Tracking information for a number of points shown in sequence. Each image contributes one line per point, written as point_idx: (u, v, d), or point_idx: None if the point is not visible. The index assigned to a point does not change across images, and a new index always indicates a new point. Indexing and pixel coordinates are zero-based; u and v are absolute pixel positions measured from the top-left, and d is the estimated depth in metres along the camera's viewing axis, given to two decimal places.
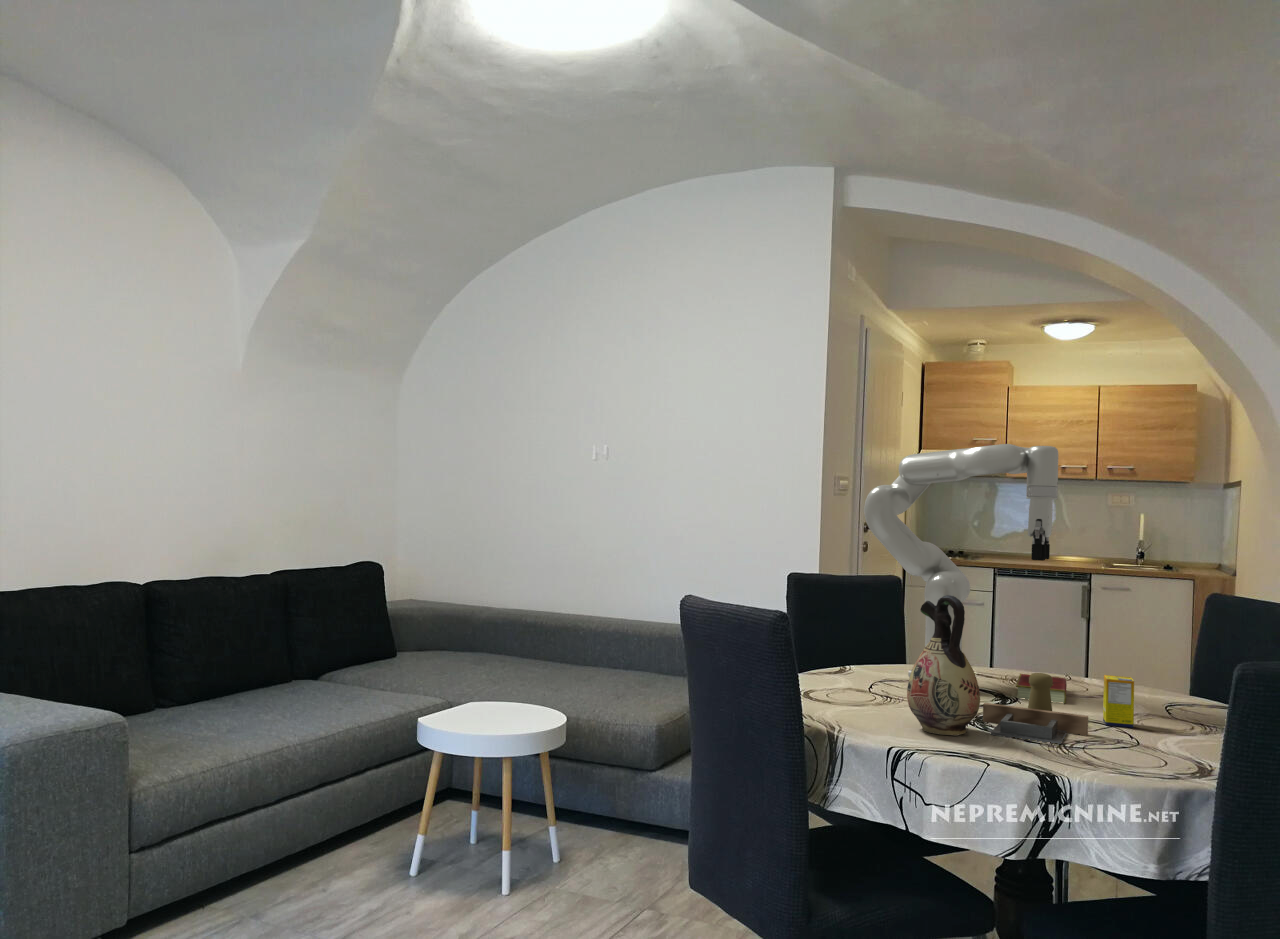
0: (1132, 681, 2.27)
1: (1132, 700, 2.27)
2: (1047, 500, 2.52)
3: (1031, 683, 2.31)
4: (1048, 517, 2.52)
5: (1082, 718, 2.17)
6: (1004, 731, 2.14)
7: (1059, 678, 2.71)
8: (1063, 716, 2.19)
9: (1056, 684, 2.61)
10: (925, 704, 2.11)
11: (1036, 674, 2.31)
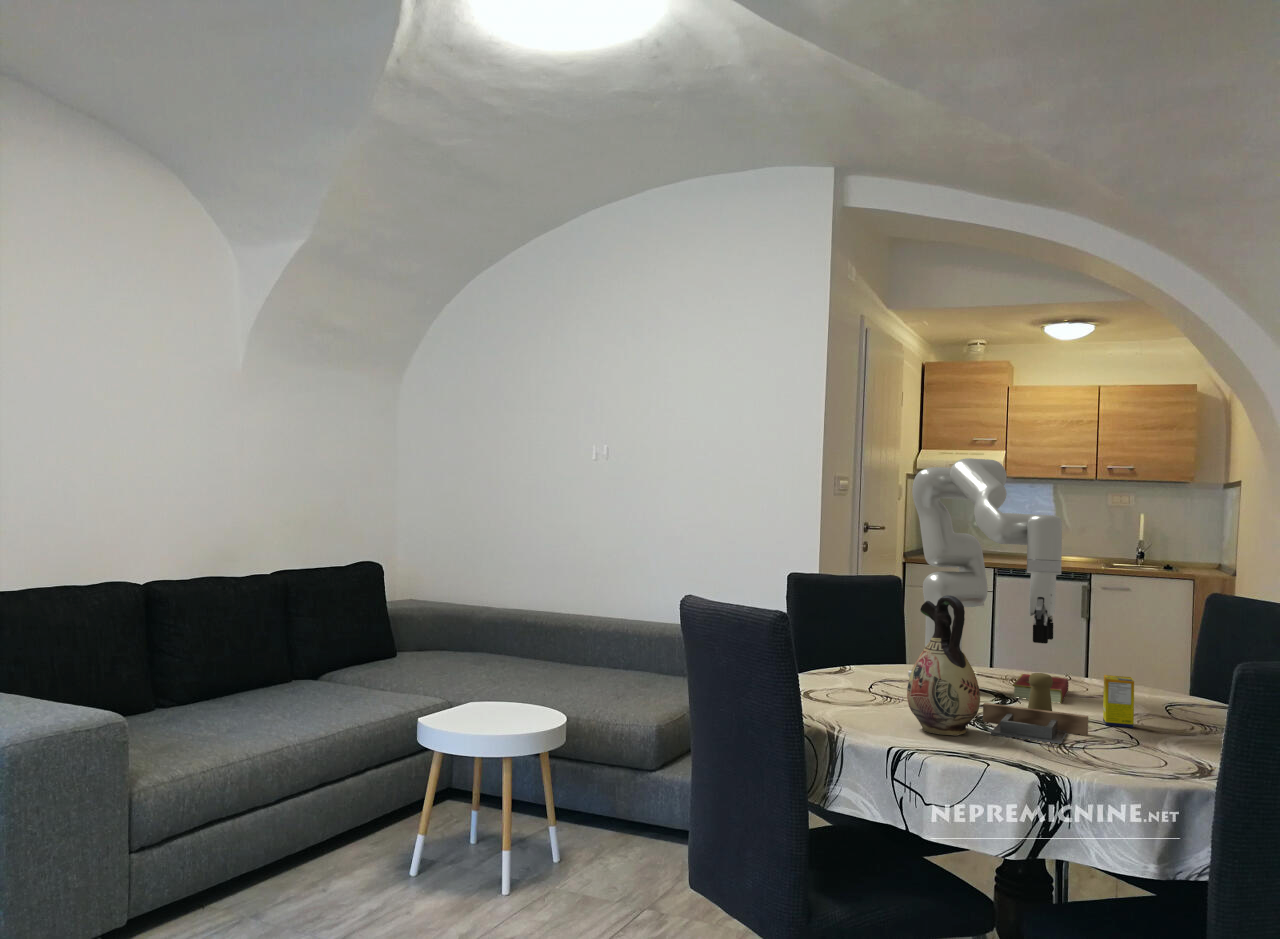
0: (1132, 681, 2.27)
1: (1132, 700, 2.27)
2: (1050, 576, 2.28)
3: (1031, 683, 2.31)
4: (1051, 595, 2.27)
5: (1082, 718, 2.17)
6: (1004, 731, 2.14)
7: (1061, 678, 2.70)
8: (1063, 716, 2.19)
9: (1055, 684, 2.61)
10: (925, 704, 2.11)
11: (1036, 674, 2.31)
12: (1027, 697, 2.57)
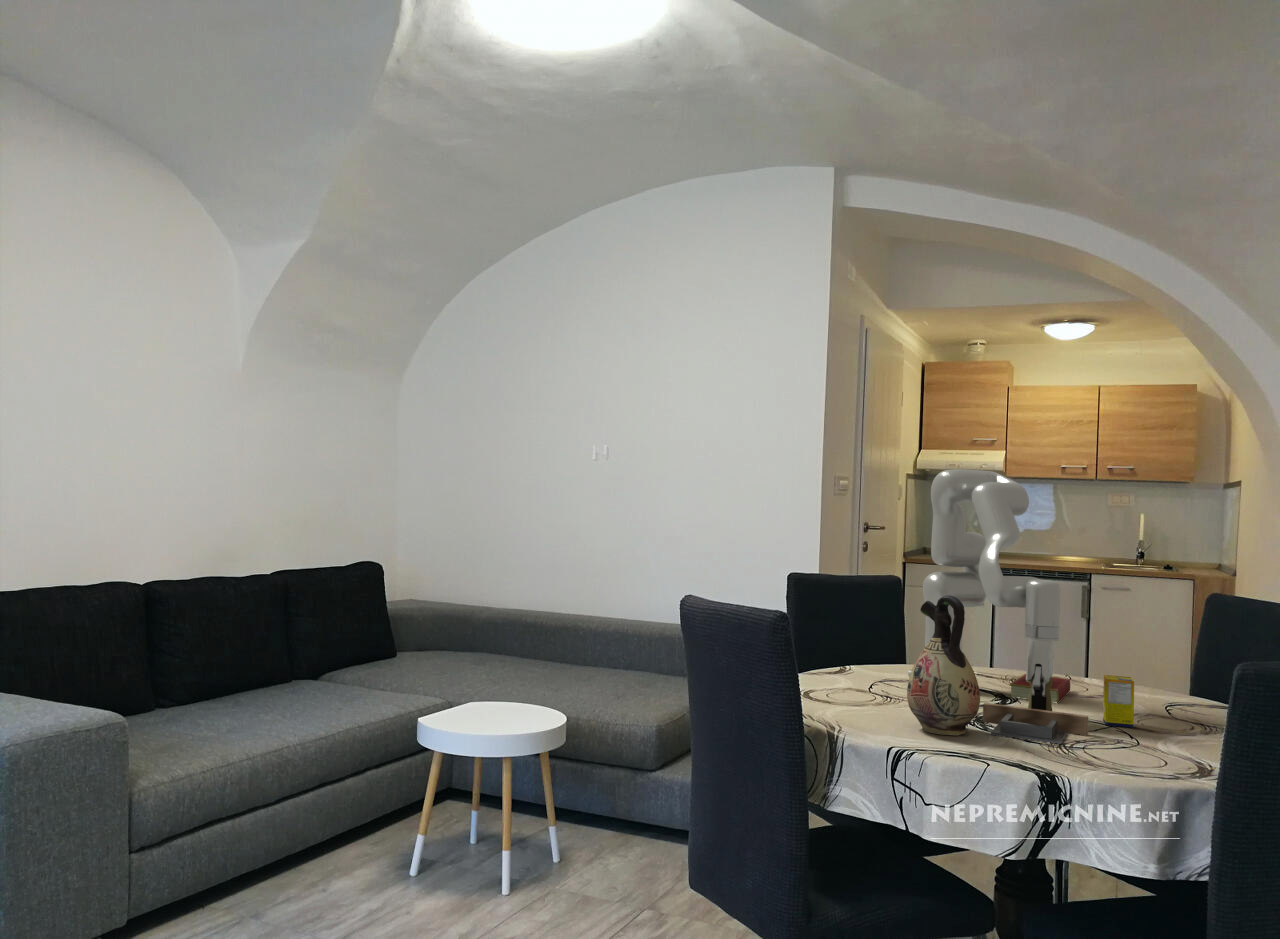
0: (1132, 681, 2.27)
1: (1132, 700, 2.27)
2: (1047, 643, 2.27)
3: (1031, 683, 2.31)
4: (1048, 662, 2.27)
5: (1082, 718, 2.17)
6: (1004, 731, 2.14)
7: (1062, 679, 2.70)
8: (1063, 716, 2.19)
9: (1053, 684, 2.61)
10: (925, 704, 2.11)
11: None
12: (1024, 696, 2.57)
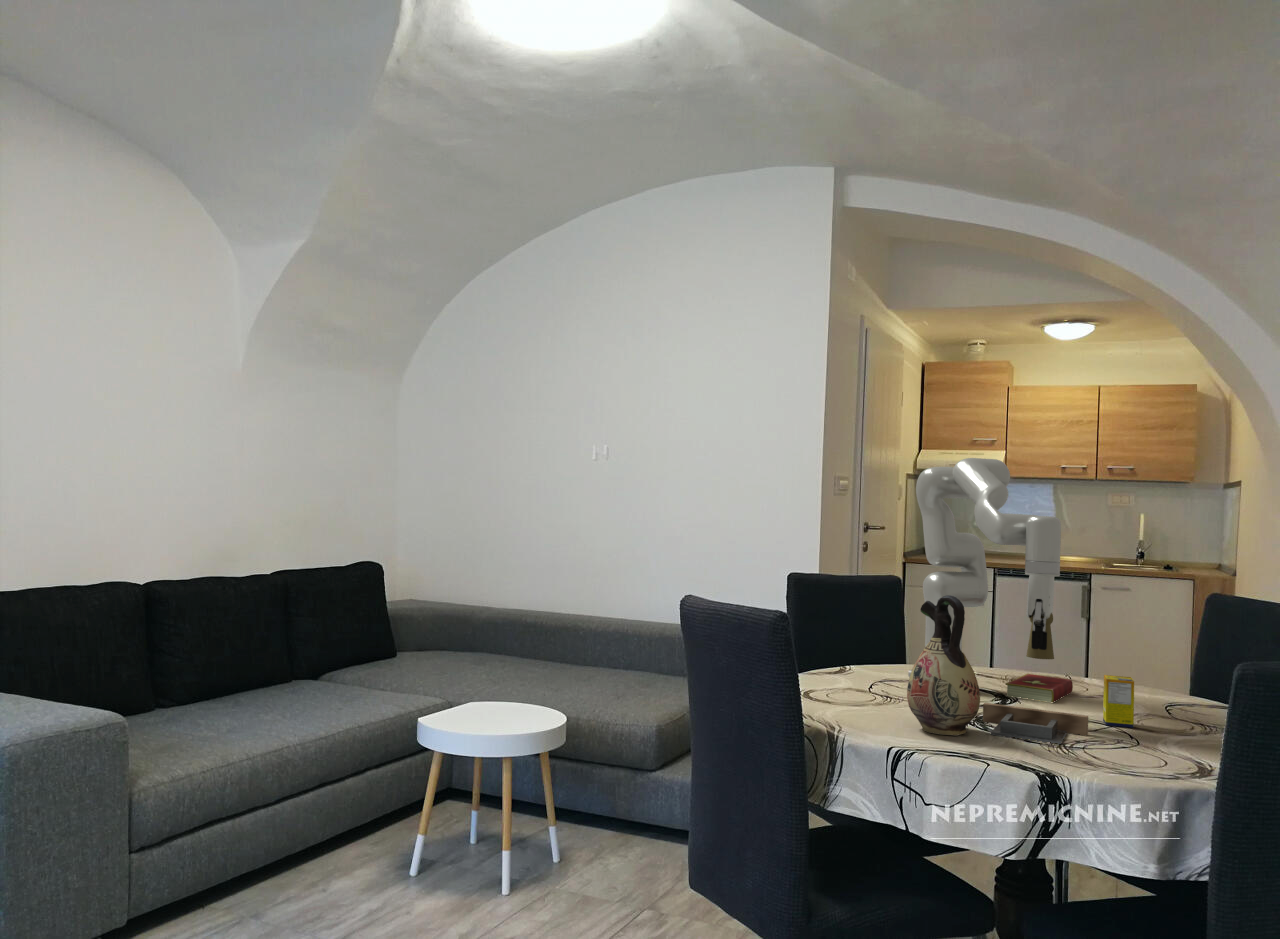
0: (1132, 681, 2.27)
1: (1132, 700, 2.27)
2: (1048, 578, 2.26)
3: (1032, 619, 2.29)
4: (1049, 597, 2.25)
5: (1082, 718, 2.17)
6: (1004, 731, 2.14)
7: (1064, 679, 2.69)
8: (1063, 716, 2.19)
9: (1051, 684, 2.61)
10: (925, 704, 2.11)
11: None
12: (1019, 696, 2.58)
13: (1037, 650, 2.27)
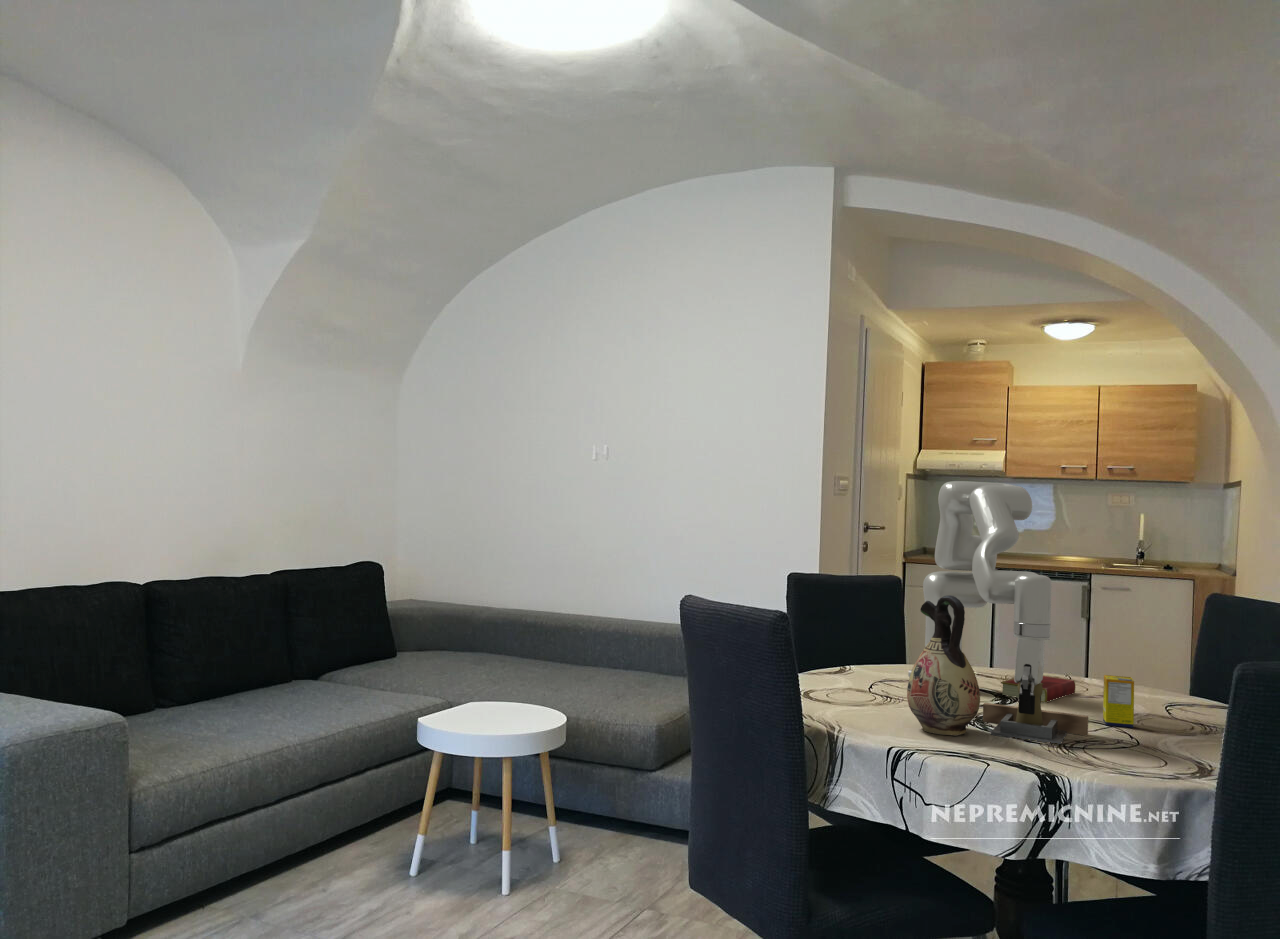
0: (1132, 681, 2.27)
1: (1132, 700, 2.27)
2: (1037, 642, 2.13)
3: None
4: (1038, 662, 2.12)
5: (1082, 718, 2.17)
6: (1004, 731, 2.14)
7: (1066, 680, 2.69)
8: (1063, 716, 2.19)
9: (1049, 684, 2.61)
10: (925, 704, 2.11)
11: None
12: (1014, 695, 2.59)
13: None
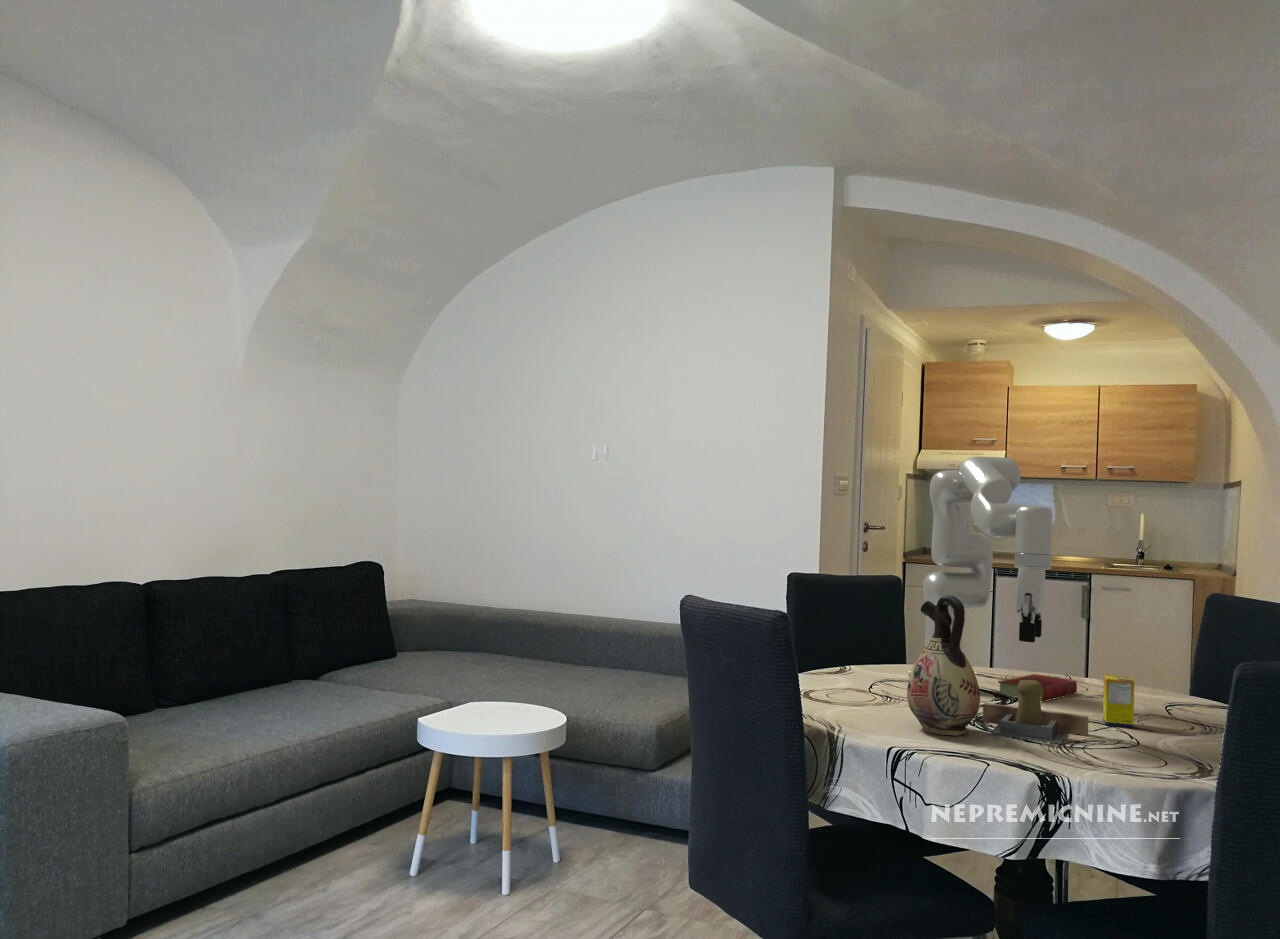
0: (1132, 681, 2.27)
1: (1132, 700, 2.27)
2: (1038, 571, 2.14)
3: (1020, 691, 2.16)
4: (1039, 591, 2.14)
5: (1082, 718, 2.17)
6: (1004, 731, 2.14)
7: (1067, 680, 2.68)
8: (1063, 716, 2.19)
9: (1047, 684, 2.61)
10: (925, 704, 2.11)
11: (1025, 681, 2.16)
12: (1011, 694, 2.60)
13: None
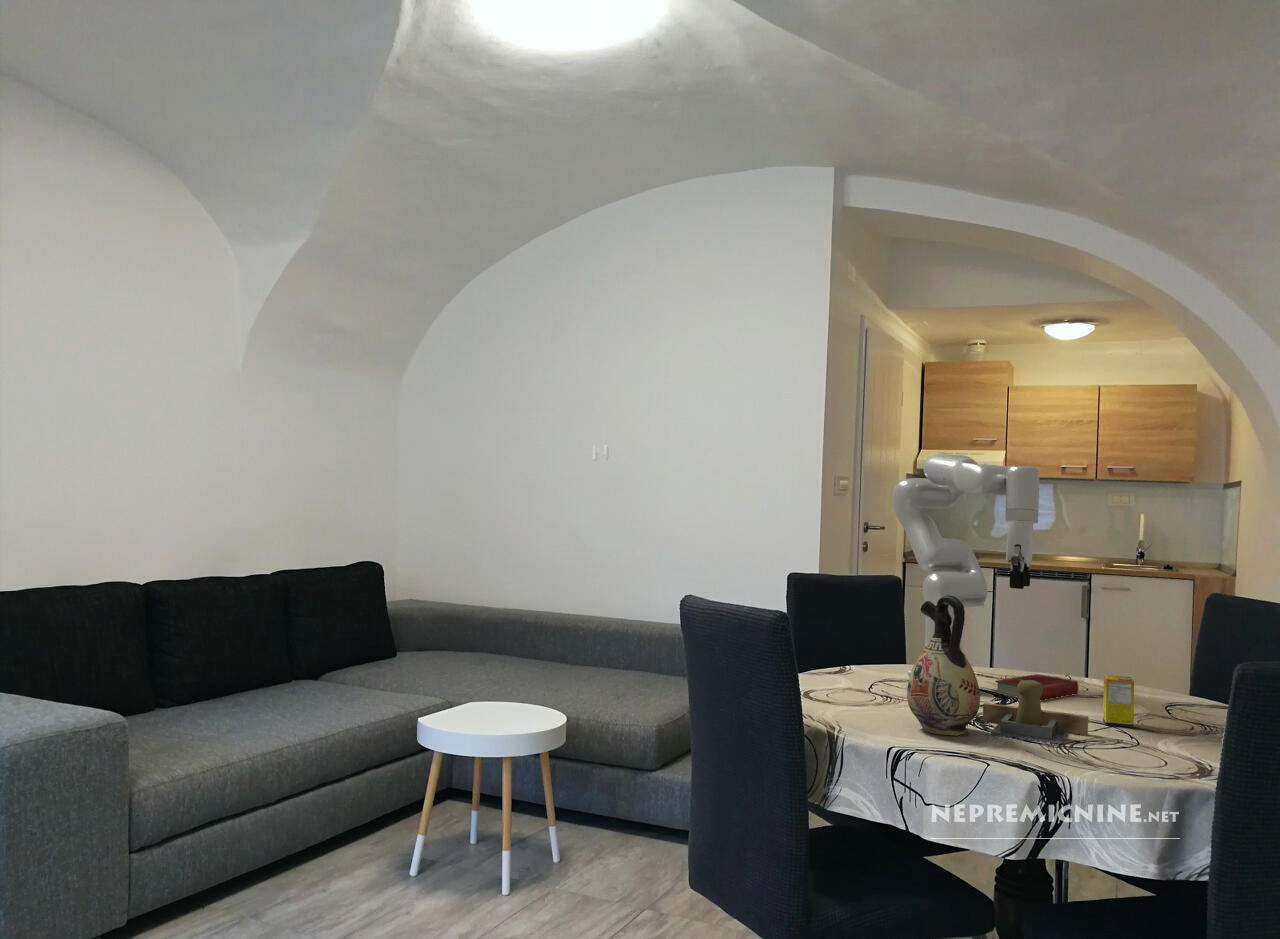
0: (1132, 681, 2.27)
1: (1132, 700, 2.27)
2: (1027, 524, 2.36)
3: (1020, 691, 2.16)
4: (1027, 542, 2.36)
5: (1082, 718, 2.17)
6: (1004, 731, 2.14)
7: (1069, 680, 2.67)
8: (1063, 716, 2.19)
9: (1045, 684, 2.61)
10: (925, 704, 2.11)
11: (1025, 681, 2.16)
12: (1008, 693, 2.61)
13: None
